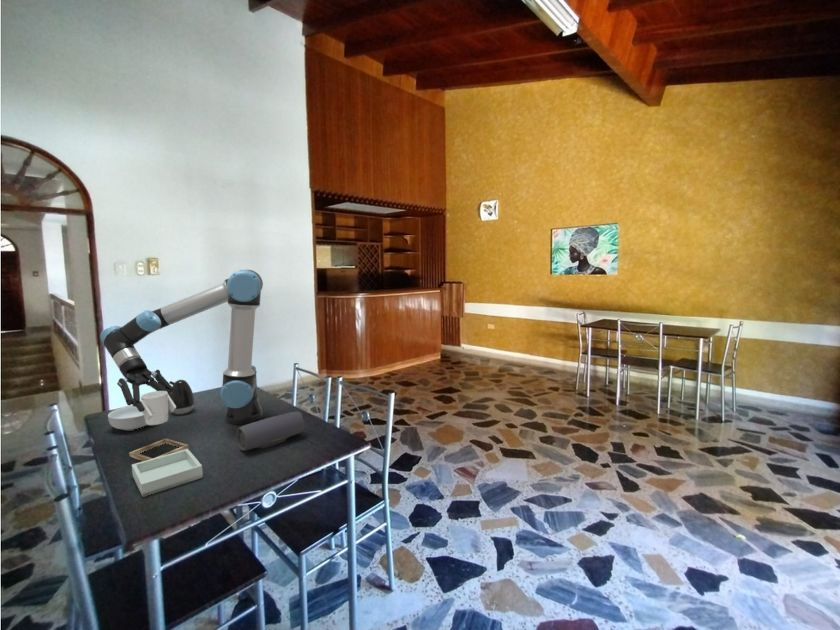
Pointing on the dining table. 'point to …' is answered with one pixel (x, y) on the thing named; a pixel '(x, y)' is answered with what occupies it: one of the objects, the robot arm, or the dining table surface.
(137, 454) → the tan flat square frame
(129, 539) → the dining table surface
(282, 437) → the bluetooth speaker
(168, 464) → the bin
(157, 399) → the white cup
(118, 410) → the cereal bowl
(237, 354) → the robot arm
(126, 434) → the dining table surface
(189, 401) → the pump dispenser
